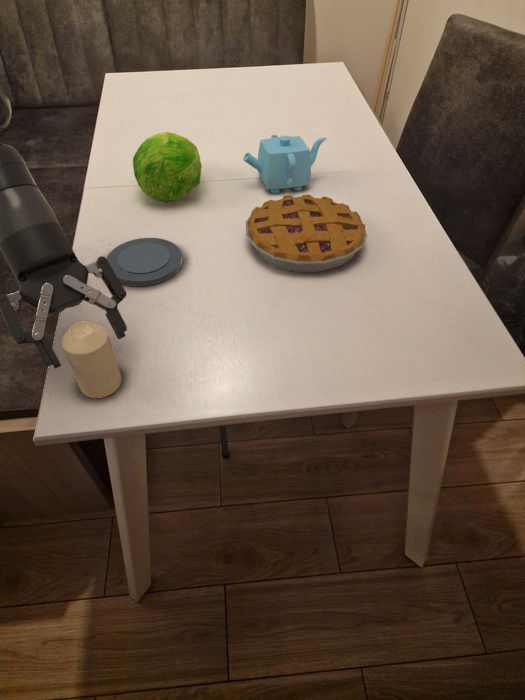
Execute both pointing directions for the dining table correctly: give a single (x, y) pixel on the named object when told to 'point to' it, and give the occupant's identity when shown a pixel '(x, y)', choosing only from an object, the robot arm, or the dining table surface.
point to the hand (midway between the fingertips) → (91, 351)
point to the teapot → (284, 162)
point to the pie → (305, 233)
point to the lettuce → (167, 167)
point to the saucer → (145, 261)
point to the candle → (92, 359)
